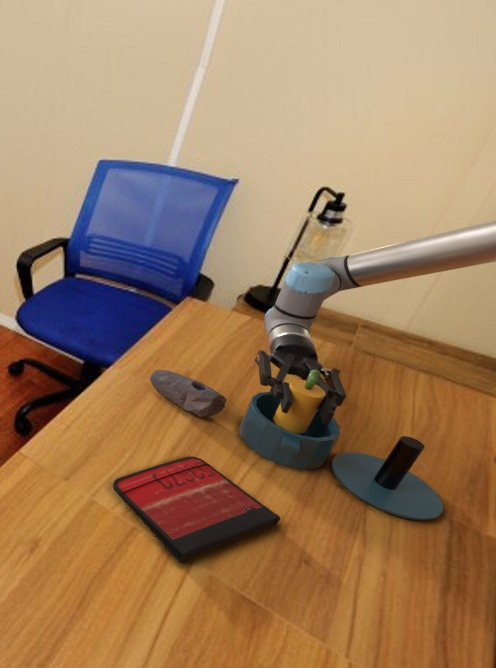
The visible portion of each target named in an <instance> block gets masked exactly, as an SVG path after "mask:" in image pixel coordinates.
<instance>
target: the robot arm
mask: <svg viewBox="0 0 496 668" xmlns="http://www.w3.org/2000/svg"><path fill="white" fill-rule="evenodd" d="M490 263H496V219H495V220H491V221H486V222H483V223H478V224H473V225H470V226H466V227H461V228H457V229H452V230H449V231H445V232H439V233H436V234H432V235H431V234H430V235H428V236H424V237H423V236H422V237H419V238H416V239H411V240H410V239H409V240H405V241H402V242H397V243H393V244H390V245H385V246H381V247H376V248H372V249H368V250H364V251H359V252H355V253H351V254H348V255H344V256H331V257H327V258H324V259H321V260H319V261H318V262H311V261H304V262H303V261H298V262H295V263H294V264H292V265H291V266H290V269H289V271H288V273H286V275H285V278H284V281H283V285H282V287H281V289H280V291H279V294H278V296H277V298H276V301H275V303H274V305H273V306H272V307H270V308H269V309H268V310H267V311H266V313H265V316H264V321H263V324H264V328H265V329H264V330H265V331H266V336H267V341H268V347H269V354H267V352H266V351H264V350H262V349H261V350H260V349H259V350H258V351H257V354H256V356H255V358H254V362H255V363H256V364H257V366H258V376H259V384H260V385H261V386H263V387H268V386H269V387H270V390H269V392H271V393H273V394H274V396H275V397H276V398H280V403H281V409H282V412H283V413H288V411H289V409H290V407H291V405H292V403H293V401H292V397H291V392H290V387H289V384H290V382H286V381H285V378H286V377H287V375H290V376H296V377H299V378H300V380H305V381H307V378H308V376H309V373H310V371H311V370H318V371H319V372H320V375H319V377H318V382H317V383H316V385H318V386H319V387H321V388H322V389H323V390H324V391H325V394H326V395H325V397H324V399H323V401H322V402H321V404H320V406H319V408H318V409H319V412H320V416H321V419H322V423H323V424H325V425H329V423H330V421H331V419H332V417H333V418H334V416H335V412H336V409H337V408H338V407H341V406H342V405H343V403H344V401H345V399H346V398H347V392H346V390H345V388H344V384H343V383H342V380H341V377H340V373H341V370H340V369H338V368H332V369H329V368H325V367H324V366H323V365H322V363H321V362H319V356H318V353H317V350H316V347H315V343H314V340H313V338H312V337H313V336H312V334H311V327H312V325H313V323H314V321H315V319H316V317H317V315H318V312H319V311H320V309H321V307H322V305H323V303H324V302H325V300H327V299H328V298H331V297H332V296H334V295H335V294H337V293H339V292H342V291H347V290H353V289H358V288H362V287H367V286H372V285H378V284H383V283H388V282H392V281H393V282H394V281H399V280H404V279H405V280H406V279H410V278H416V277H421V276H426V275H432V274H436V273H441V272H449V271H453V270H458V269H464V268H469V267H475V266H480V265H485V264H490ZM271 364H272V365H274V366H275V367H276V368H278V370H279V371H278V373H277V374H276V377H273V373H272V365H271Z"/></svg>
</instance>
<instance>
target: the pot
mask: <svg viewBox="0 0 496 668" xmlns="http://www.w3.org/2000/svg"><path fill="white" fill-rule="evenodd" d="M279 405H280V398H276V397H275V396H274V394H273V393H271V392H270V391H263V392H262V391H261V392H258V393H257V394H255V395H253V396H252V397H251V399H250V401H249V404H248V406H247V408H246V410H245V412H244V414H243V417H242V419H241V422H240V426H239V429H238V430H239V431H238V432H239V434H240V437H241V438H242V440H243V441H244V443H245V444H246V445H247V446H248V447H249V448H250V449H252V450H253V451H254V452H255V453H257V454H259V455H260V456H262V457H263V458H265V459H267V460H269V461H271V462H273V463H276V464H278V465H281V466H283V467H287V468H290V469H291V468H292V469H294V470H305V471H307V470H310V471H311V470H316V469H318V468H320V467H321V466H323V464H324V463H325V462H327V459H328V458H329V455H330V454H331V452H332V450H333V449H334V448H335V445H336V444H337V442H338V440H339V438H340V436H341V435H342V434H341V433H342V432H341V431H342V430H341V424H339V423H338V421H337V420H336V418H334V416H333V417H332V419H331V421H330V423H329V425H325V424H323V423H322V419H321V416H320V412H319V409H318V410H317V412H316V414H315V415H314V417H313V419H312V421H311V423H310V425H309V427H308V428H307V430H306V432H305V433H301V434H298V433H293V432H290V431H288V430H285V429H283V428H281V427H280V426H278V425H277V424H276V423H275V422H274V420H273V417H274V415H275V413H276V411H277V409H278V407H279Z"/></svg>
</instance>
